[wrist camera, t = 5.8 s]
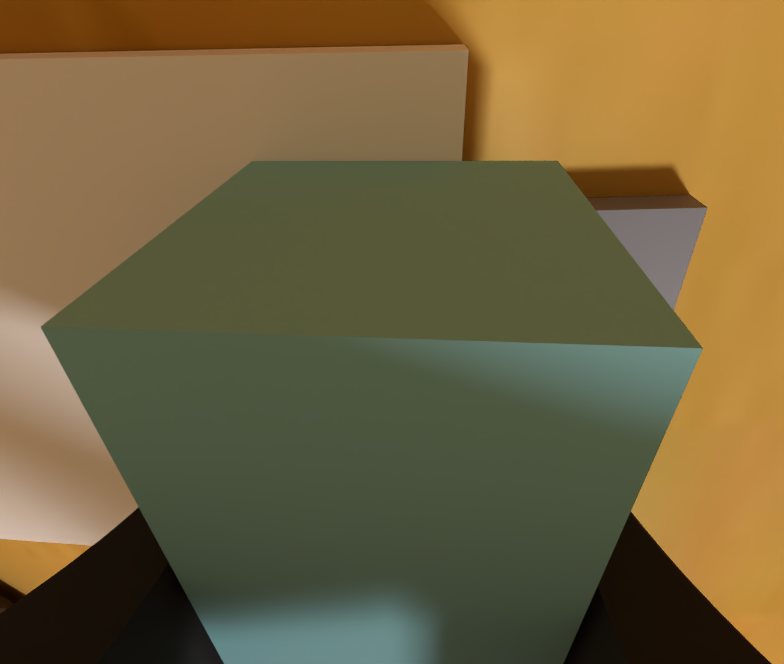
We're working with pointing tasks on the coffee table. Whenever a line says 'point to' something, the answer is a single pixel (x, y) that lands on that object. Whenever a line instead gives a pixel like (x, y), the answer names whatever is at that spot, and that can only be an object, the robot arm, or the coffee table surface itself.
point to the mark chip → (656, 234)
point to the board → (159, 207)
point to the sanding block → (382, 406)
